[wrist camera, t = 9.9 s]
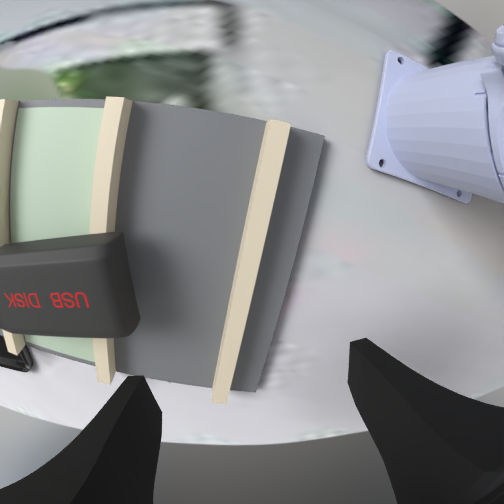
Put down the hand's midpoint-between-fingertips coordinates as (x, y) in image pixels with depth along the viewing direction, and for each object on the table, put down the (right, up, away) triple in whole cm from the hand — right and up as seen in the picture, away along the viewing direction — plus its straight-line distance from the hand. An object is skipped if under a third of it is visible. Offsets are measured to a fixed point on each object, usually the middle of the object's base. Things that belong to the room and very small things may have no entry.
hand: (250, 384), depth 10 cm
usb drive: (-12, +3, +6) cm, 14 cm away
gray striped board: (-9, +4, +8) cm, 12 cm away
